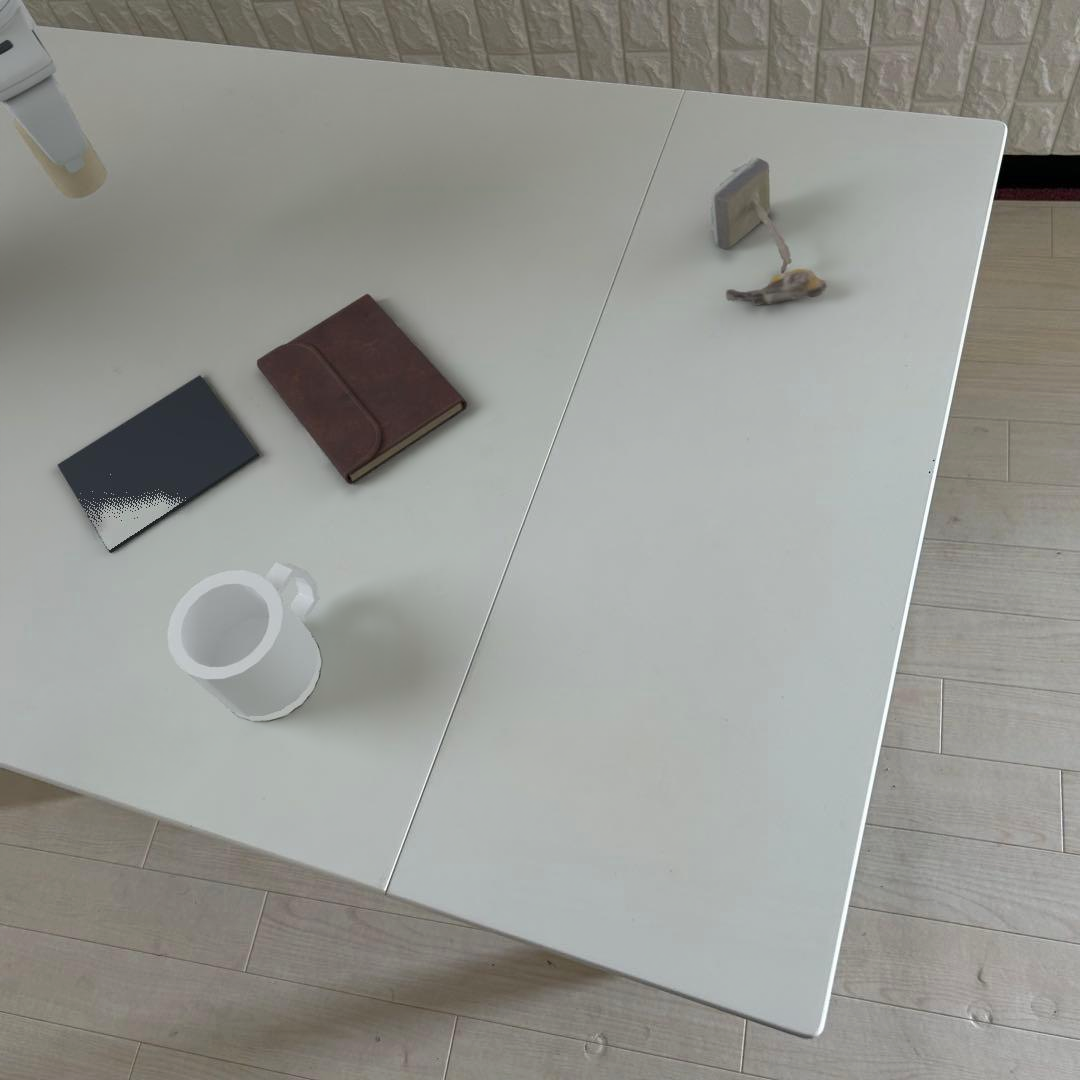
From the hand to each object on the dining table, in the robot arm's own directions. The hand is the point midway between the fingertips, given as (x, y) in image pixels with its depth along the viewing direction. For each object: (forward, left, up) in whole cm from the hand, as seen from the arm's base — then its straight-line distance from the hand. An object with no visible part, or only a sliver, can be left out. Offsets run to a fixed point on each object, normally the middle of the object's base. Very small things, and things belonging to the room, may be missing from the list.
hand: (63, 150), depth 110 cm
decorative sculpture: (+53, -49, -19) cm, 75 cm away
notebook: (+11, -33, -19) cm, 40 cm away
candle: (0, 0, -4) cm, 4 cm away
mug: (-12, -55, -19) cm, 59 cm away
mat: (-11, -26, -19) cm, 34 cm away
